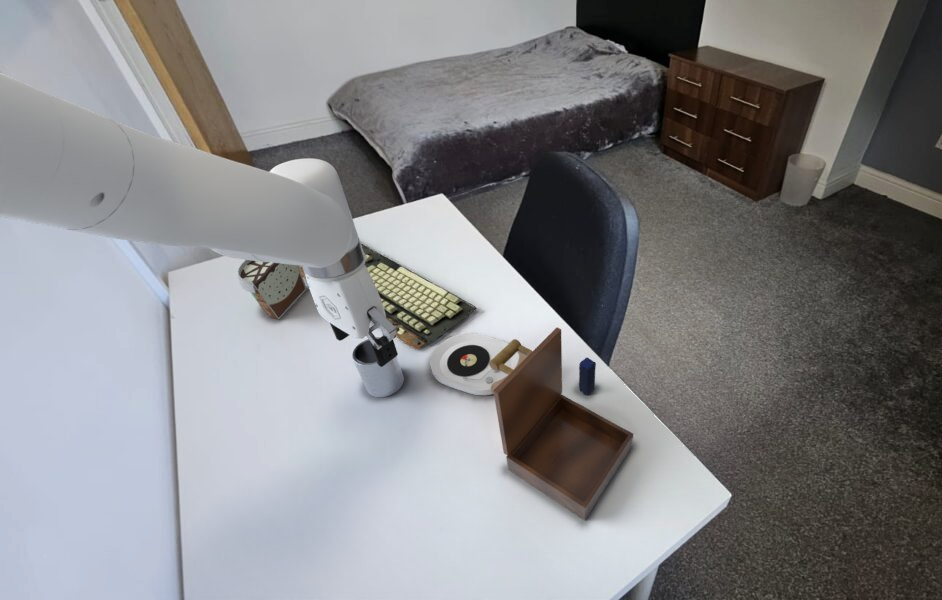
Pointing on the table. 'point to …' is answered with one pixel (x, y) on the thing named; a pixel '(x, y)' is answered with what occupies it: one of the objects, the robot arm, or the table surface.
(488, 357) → the record player
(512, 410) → the lid
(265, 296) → the food container
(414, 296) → the keyboard
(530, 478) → the storage box
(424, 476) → the table surface
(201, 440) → the table surface
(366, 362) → the steel cup
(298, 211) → the robot arm
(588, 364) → the eraser
